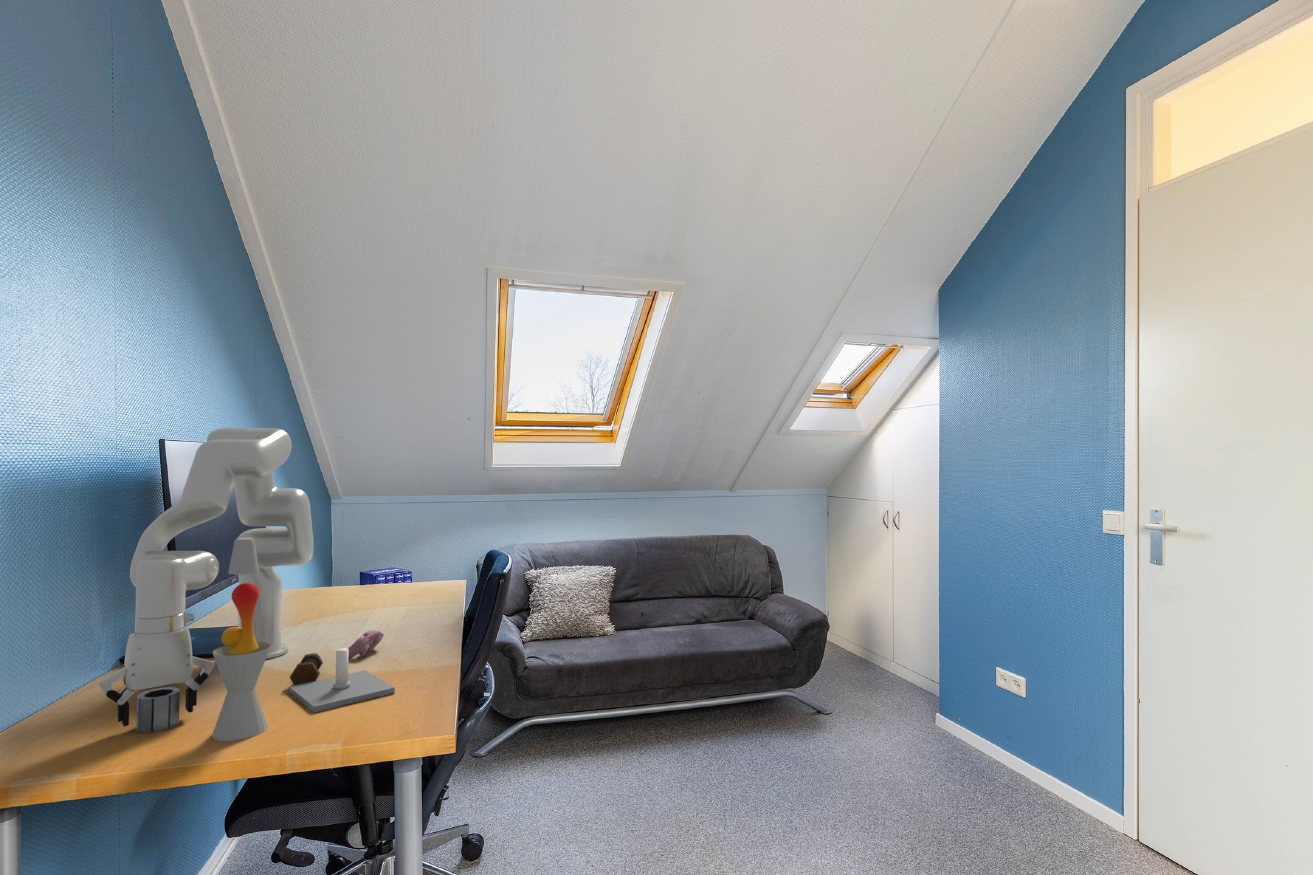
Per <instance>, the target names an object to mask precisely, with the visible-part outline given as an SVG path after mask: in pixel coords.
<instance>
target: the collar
mask: <svg viewBox="0 0 1313 875" xmlns="http://www.w3.org/2000/svg"><path fill="white" fill-rule="evenodd" d="M180 695H181V691H180V689H179V688H178V687H167V686H164V687H159V688H153V689H148V690H145V691H143V692H141V693H139V694H137V695H136V715H135V716H136V718H135V719H136V720H135V722H136V723H135V725H136V726H135V729H136V732H137V733H141V734H143V733H144V734H145V733H146V734H147V733H148V734H150V733H157V732H162V731H165V730H169V729H172V728H174V727H176V726H177V725H180V724H179V723H180V698H181V696H180Z"/></svg>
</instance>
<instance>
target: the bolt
mask: <svg viewBox="0 0 1313 875" xmlns="http://www.w3.org/2000/svg"><path fill="white" fill-rule="evenodd" d="M323 664H324V661H323V660H322V658H321V656H320V655H319V654H318V653H315V652H314V653H307V654H305V655H304V656H303V657H302V660H300V663H297V664H296V666H295V668H294V670H293V671H292V673H291V674H290V676H289V680H290V681H291V682H292V684H293V686H294V685H298V684H303V683H308V682H312V681H317V679H318V678H319V676H320V674H321V673H320V671H319V669H320V668H321V667H322V665H323Z"/></svg>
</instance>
